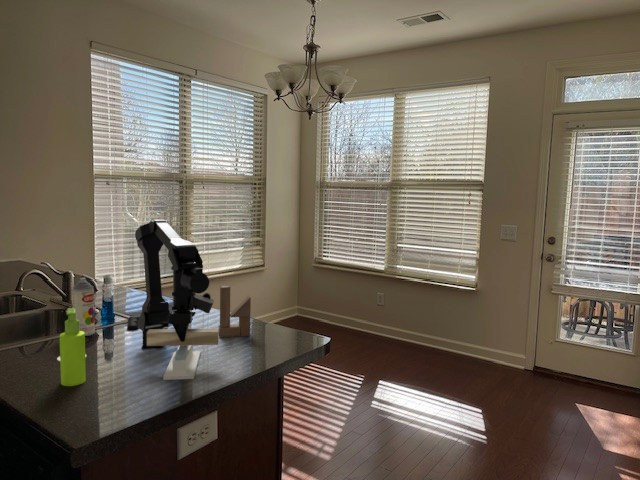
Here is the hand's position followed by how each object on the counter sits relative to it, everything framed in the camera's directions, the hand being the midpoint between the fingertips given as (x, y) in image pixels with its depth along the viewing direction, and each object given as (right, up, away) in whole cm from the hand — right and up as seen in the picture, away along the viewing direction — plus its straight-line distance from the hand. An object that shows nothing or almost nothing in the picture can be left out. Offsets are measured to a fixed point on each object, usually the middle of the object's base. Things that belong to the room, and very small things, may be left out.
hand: (183, 339), depth 139 cm
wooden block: (+9, -5, +31) cm, 33 cm away
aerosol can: (-43, -4, +27) cm, 51 cm away
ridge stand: (0, -8, +1) cm, 8 cm away
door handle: (-22, -4, +40) cm, 46 cm away
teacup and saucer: (-35, -7, +8) cm, 36 cm away
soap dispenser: (-25, -9, -13) cm, 30 cm away
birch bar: (0, -1, 0) cm, 1 cm away
